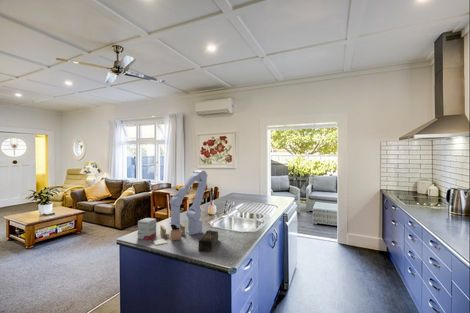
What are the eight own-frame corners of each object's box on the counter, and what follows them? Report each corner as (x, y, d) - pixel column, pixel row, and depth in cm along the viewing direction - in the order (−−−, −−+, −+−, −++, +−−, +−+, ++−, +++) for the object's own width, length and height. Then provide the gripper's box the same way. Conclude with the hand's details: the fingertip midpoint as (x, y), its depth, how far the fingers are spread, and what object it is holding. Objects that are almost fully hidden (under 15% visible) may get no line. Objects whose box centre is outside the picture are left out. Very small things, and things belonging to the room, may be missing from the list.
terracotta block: (179, 235, 149) (180, 228, 148) (181, 239, 146) (181, 232, 145) (170, 237, 146) (170, 230, 145) (171, 240, 143) (172, 233, 142)
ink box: (156, 235, 151) (156, 218, 151) (148, 240, 143) (148, 221, 143) (145, 234, 154) (145, 217, 153) (137, 238, 145) (137, 220, 145)
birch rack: (180, 230, 162) (180, 222, 162) (184, 235, 153) (184, 226, 153) (160, 233, 155) (160, 225, 155) (163, 238, 146) (164, 229, 146)
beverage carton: (218, 240, 146) (218, 230, 146) (211, 253, 127) (211, 241, 127) (206, 239, 147) (206, 229, 147) (197, 252, 128) (197, 240, 128)
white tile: (164, 239, 145) (164, 238, 145) (167, 243, 139) (167, 242, 139) (153, 241, 141) (153, 240, 141) (155, 245, 135) (155, 244, 135)
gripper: (166, 213, 152) (166, 233, 153) (172, 218, 140) (172, 240, 140) (176, 211, 156) (176, 231, 156) (183, 217, 144) (183, 238, 144)
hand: (175, 235), depth 148 cm, fingers closed
